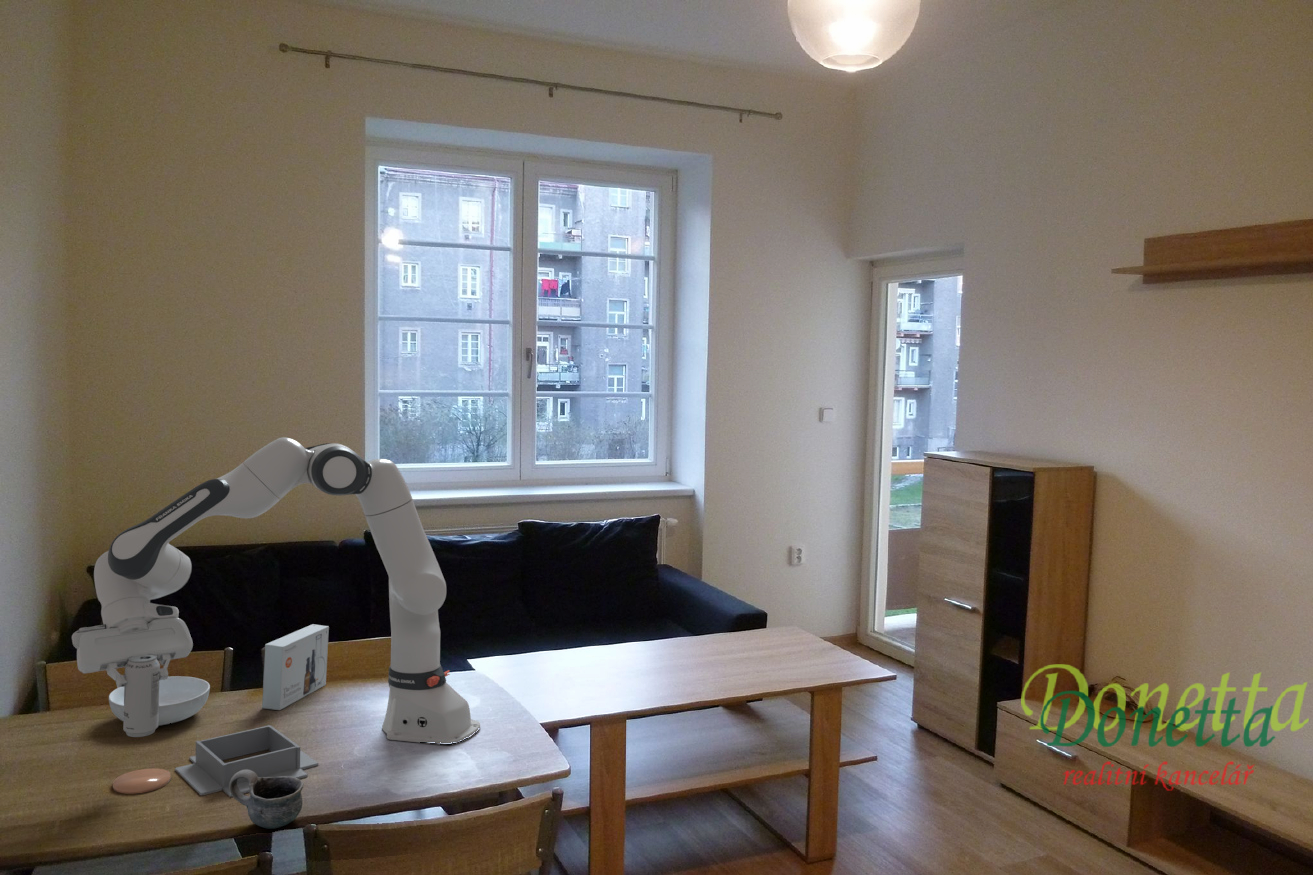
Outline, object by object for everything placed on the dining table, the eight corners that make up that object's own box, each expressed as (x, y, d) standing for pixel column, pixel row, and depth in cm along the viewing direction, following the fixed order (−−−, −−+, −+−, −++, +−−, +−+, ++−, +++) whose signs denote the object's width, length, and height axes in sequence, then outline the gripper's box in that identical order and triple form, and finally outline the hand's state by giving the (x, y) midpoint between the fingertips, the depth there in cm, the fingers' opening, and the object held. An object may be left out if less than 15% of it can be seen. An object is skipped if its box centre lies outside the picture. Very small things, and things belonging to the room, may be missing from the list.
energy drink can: (127, 727, 190) (128, 653, 189) (160, 725, 192) (162, 652, 191) (119, 739, 184) (121, 662, 183) (154, 737, 186) (156, 661, 185)
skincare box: (281, 711, 230) (282, 646, 229) (261, 709, 231) (262, 644, 230) (328, 684, 251) (329, 624, 250) (309, 682, 252) (310, 623, 251)
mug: (301, 833, 170) (302, 778, 170) (225, 841, 167) (225, 785, 166) (304, 809, 180) (305, 757, 179) (231, 816, 176) (232, 763, 175)
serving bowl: (86, 726, 216) (86, 696, 216) (164, 698, 236) (164, 671, 235) (155, 742, 209) (156, 711, 208) (230, 712, 228) (230, 683, 228)
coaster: (182, 777, 191) (182, 773, 191) (139, 797, 182) (139, 793, 182) (144, 769, 195) (144, 765, 195) (100, 788, 185) (100, 784, 185)
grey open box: (281, 738, 213) (281, 716, 213) (326, 771, 197) (327, 747, 196) (168, 764, 198) (168, 740, 197) (208, 803, 181) (208, 777, 180)
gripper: (72, 620, 184) (85, 683, 178) (185, 606, 198) (201, 664, 192) (67, 638, 188) (79, 700, 181) (178, 623, 202) (194, 680, 195)
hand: (143, 682), depth 187 cm, fingers closed on energy drink can, 6 cm apart
